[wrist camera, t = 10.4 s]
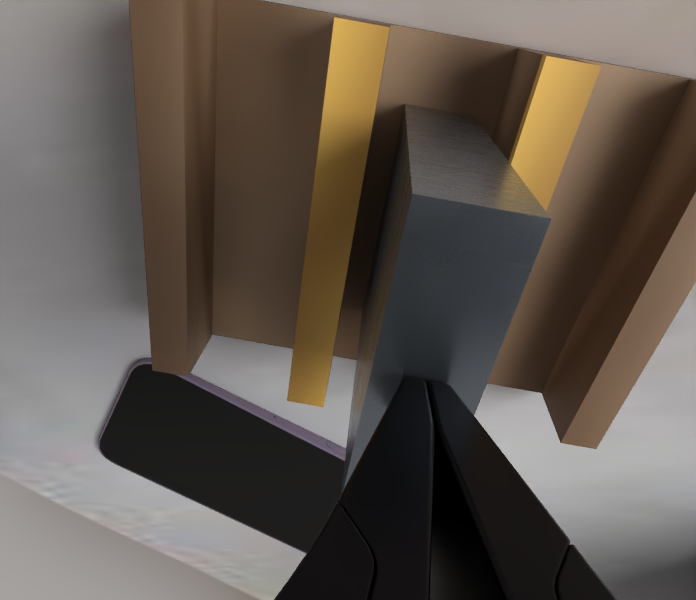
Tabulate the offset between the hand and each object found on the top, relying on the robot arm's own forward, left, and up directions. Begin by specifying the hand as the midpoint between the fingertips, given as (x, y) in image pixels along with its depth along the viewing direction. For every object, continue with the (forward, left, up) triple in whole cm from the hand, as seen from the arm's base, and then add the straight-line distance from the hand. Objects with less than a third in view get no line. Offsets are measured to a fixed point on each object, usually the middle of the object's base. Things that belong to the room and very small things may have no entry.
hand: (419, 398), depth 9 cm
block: (0, 0, -8) cm, 8 cm away
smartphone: (+4, +14, -10) cm, 17 cm away
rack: (0, 0, -9) cm, 9 cm away
